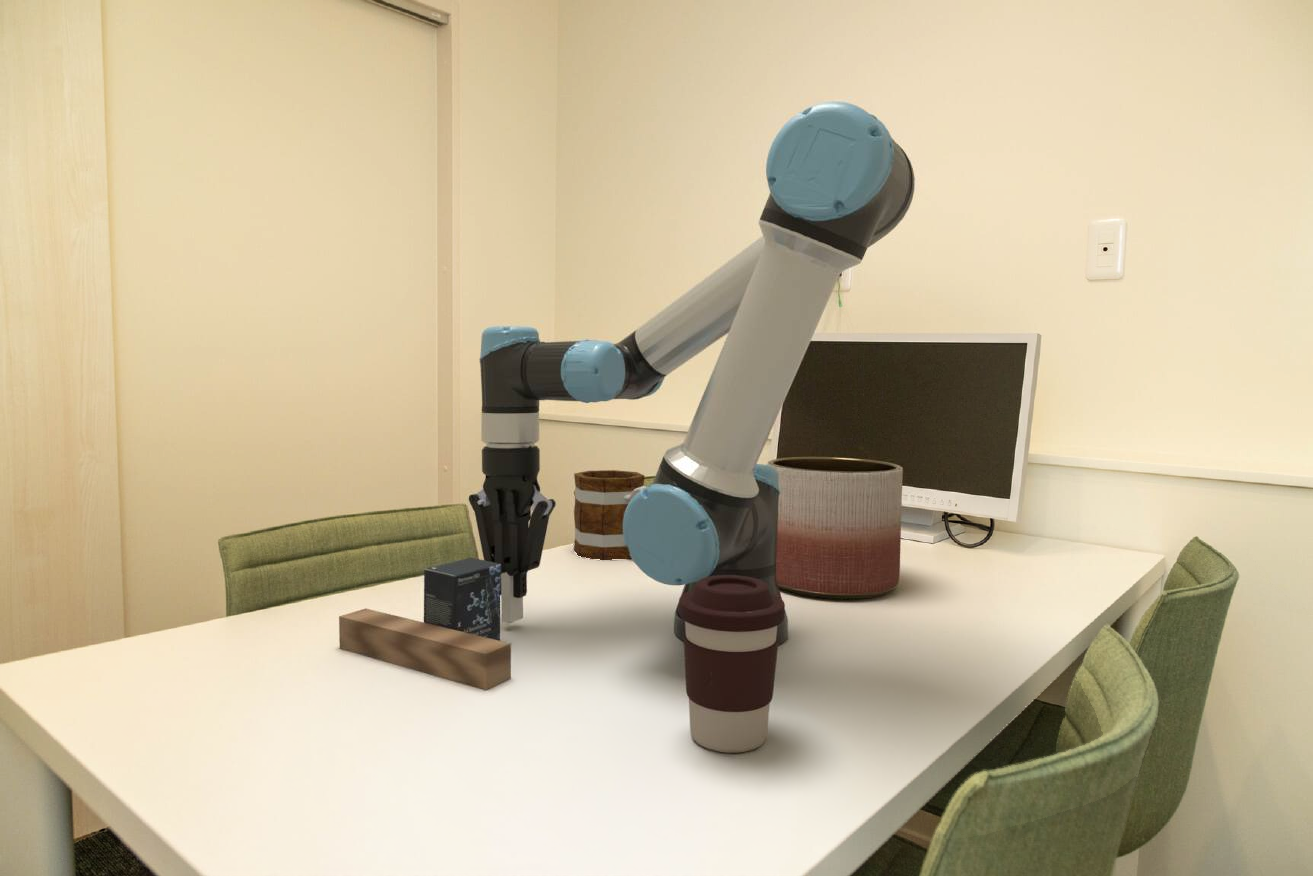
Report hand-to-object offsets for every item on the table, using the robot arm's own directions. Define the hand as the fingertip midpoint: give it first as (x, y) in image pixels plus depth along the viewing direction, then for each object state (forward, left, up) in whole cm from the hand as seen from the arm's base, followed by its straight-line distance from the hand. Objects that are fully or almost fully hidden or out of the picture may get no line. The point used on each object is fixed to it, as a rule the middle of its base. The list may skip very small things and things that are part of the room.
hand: (512, 619), depth 108 cm
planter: (-29, -46, -1) cm, 54 cm away
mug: (+11, -43, -1) cm, 45 cm away
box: (0, +10, -1) cm, 10 cm away
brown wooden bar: (+1, +16, -1) cm, 16 cm away
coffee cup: (-38, +14, -1) cm, 41 cm away
